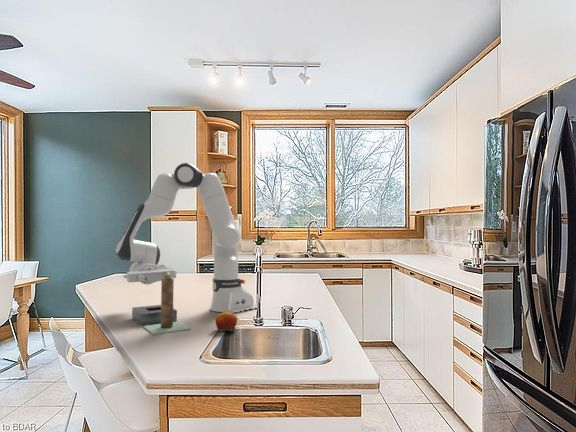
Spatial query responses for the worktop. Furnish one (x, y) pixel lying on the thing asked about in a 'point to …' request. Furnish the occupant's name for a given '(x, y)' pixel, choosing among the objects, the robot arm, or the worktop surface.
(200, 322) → the worktop surface
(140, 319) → the housing
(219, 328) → the fruit
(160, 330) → the mat
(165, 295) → the bottle
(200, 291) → the worktop surface
